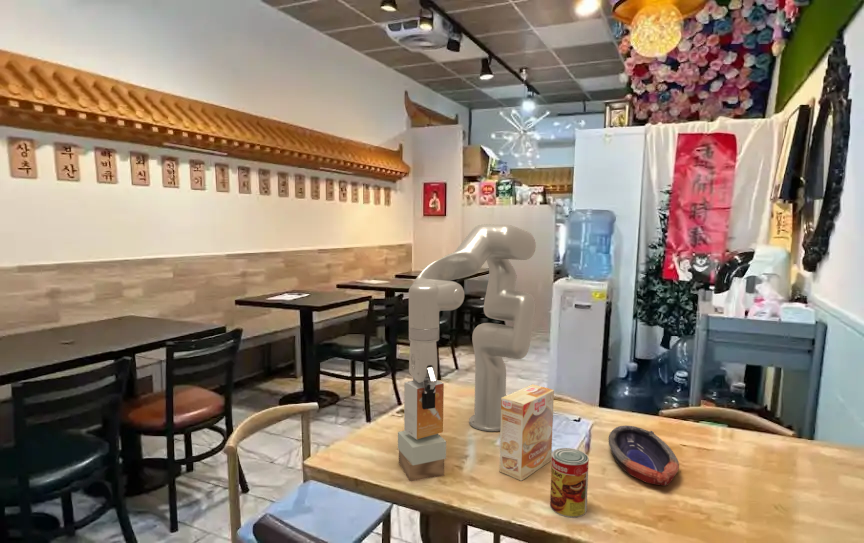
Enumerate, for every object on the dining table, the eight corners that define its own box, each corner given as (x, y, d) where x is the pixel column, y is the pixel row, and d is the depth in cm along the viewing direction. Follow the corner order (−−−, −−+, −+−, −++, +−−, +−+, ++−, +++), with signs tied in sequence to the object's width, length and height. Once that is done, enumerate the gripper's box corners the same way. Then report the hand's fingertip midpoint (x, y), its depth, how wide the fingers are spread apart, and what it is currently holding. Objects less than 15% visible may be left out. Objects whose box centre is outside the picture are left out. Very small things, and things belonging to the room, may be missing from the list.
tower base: (431, 458, 139) (431, 442, 139) (444, 476, 130) (444, 459, 129) (398, 463, 136) (398, 447, 136) (409, 482, 127) (409, 464, 126)
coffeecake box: (521, 481, 127) (523, 404, 125) (497, 471, 132) (499, 397, 130) (552, 460, 138) (555, 389, 136) (529, 452, 143) (531, 383, 141)
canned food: (545, 498, 119) (547, 448, 118) (579, 497, 120) (580, 447, 119) (556, 518, 112) (558, 464, 110) (592, 516, 112) (594, 463, 111)
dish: (655, 440, 151) (656, 424, 151) (693, 497, 121) (694, 476, 120) (600, 437, 153) (600, 420, 153) (623, 491, 123) (624, 471, 122)
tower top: (429, 442, 139) (429, 426, 138) (446, 458, 130) (446, 441, 129) (397, 448, 135) (397, 431, 134) (412, 465, 126) (412, 447, 125)
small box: (416, 440, 127) (416, 388, 126) (403, 431, 132) (403, 381, 131) (444, 432, 131) (444, 382, 130) (430, 424, 137) (430, 376, 135)
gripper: (400, 327, 136) (401, 392, 138) (419, 343, 120) (419, 417, 122) (428, 325, 138) (428, 389, 140) (449, 340, 122) (449, 413, 124)
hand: (423, 402), depth 131 cm, fingers closed on small box, 7 cm apart
